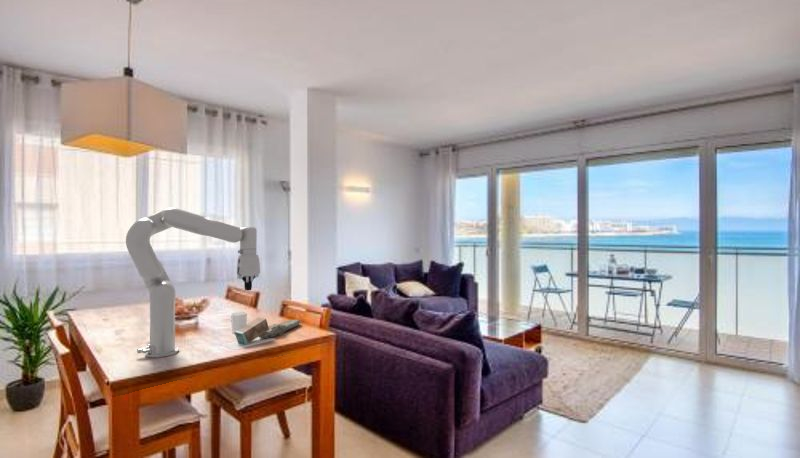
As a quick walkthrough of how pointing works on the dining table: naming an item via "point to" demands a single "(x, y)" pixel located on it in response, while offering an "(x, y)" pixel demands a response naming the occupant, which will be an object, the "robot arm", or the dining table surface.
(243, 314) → the white cup
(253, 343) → the mat
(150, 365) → the dining table surface
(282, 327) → the long grey stone
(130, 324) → the dining table surface
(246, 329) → the walnut block
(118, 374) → the dining table surface
